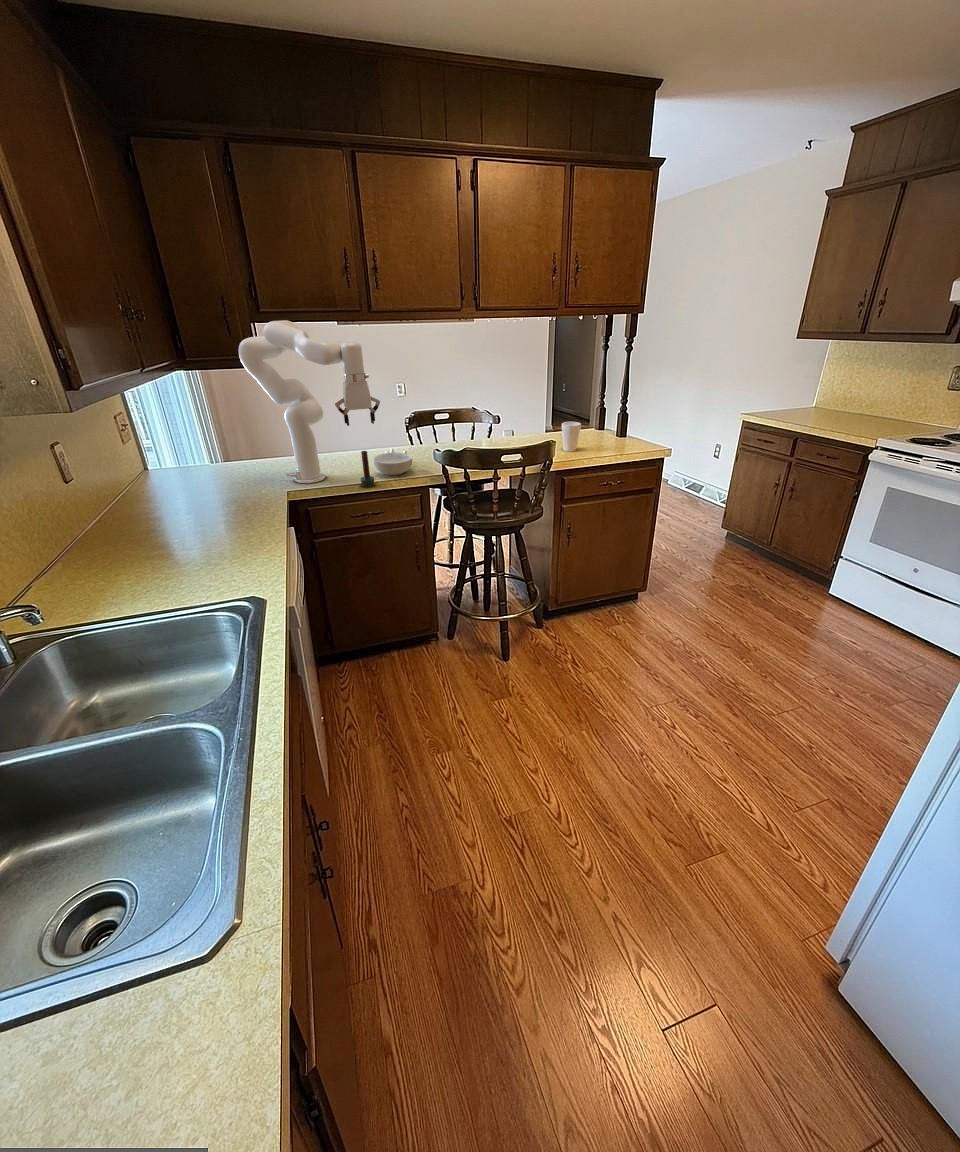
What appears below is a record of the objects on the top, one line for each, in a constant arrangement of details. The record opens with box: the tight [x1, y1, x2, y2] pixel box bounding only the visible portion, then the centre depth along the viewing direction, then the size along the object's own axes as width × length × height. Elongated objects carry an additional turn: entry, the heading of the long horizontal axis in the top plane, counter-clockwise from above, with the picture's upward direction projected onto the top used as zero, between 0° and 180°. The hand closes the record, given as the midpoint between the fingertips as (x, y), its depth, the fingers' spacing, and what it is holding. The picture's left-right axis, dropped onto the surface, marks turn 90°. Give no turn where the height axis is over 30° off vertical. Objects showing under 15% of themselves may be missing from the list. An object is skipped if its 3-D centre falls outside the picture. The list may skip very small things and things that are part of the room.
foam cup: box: [561, 421, 582, 452], centre depth 259 cm, size 10×9×13 cm
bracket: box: [384, 447, 408, 454], centre depth 244 cm, size 13×7×8 cm, turn 20°
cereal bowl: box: [373, 452, 413, 476], centre depth 229 cm, size 17×17×7 cm
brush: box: [360, 450, 375, 489], centre depth 213 cm, size 6×6×14 cm
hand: (360, 424), depth 204 cm, fingers open, 9 cm apart
